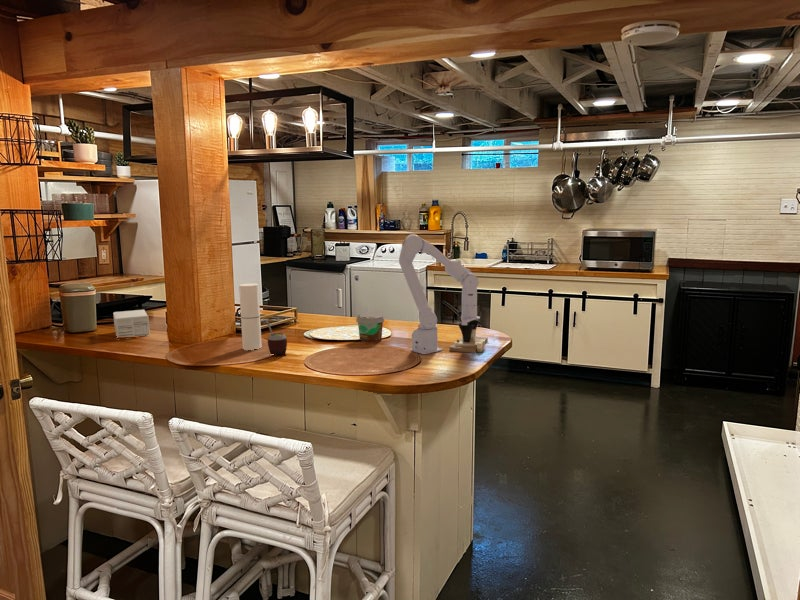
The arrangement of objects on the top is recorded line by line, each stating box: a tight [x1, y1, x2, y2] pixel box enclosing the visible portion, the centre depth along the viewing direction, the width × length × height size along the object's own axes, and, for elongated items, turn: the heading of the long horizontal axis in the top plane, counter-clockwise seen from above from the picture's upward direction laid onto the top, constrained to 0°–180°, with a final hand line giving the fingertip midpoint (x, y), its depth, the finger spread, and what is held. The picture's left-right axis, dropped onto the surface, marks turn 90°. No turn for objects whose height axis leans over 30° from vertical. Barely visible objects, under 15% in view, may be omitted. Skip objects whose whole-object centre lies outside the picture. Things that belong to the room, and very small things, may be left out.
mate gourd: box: [261, 317, 288, 358], centre depth 214 cm, size 8×8×15 cm
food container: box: [355, 314, 385, 343], centre depth 236 cm, size 12×6×10 cm, turn 62°
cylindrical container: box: [238, 283, 263, 351], centre depth 225 cm, size 7×7×25 cm
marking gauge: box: [454, 328, 486, 353], centre depth 219 cm, size 6×11×7 cm, turn 69°
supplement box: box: [112, 309, 151, 339], centre depth 255 cm, size 17×13×9 cm
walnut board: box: [449, 336, 489, 354], centre depth 226 cm, size 20×10×2 cm, turn 159°
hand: (469, 340), depth 220 cm, fingers open, 6 cm apart
